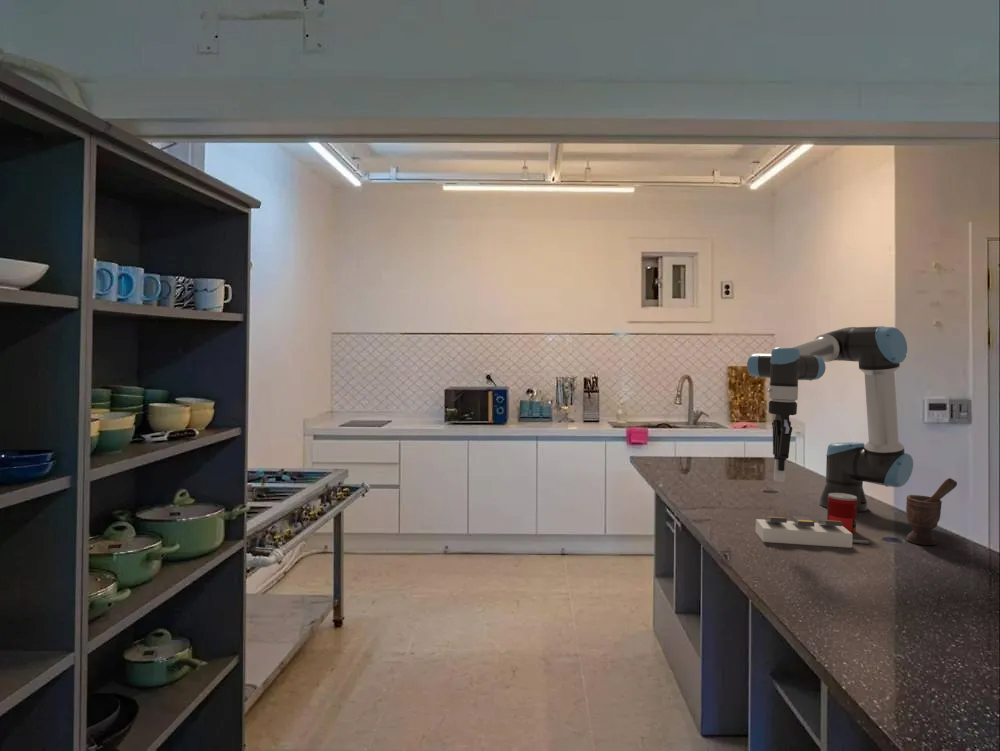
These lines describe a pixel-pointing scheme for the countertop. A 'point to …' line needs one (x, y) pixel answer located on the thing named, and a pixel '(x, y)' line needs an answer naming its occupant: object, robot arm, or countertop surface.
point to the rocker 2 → (830, 522)
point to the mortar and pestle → (926, 513)
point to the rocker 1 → (776, 519)
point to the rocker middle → (802, 521)
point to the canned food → (843, 510)
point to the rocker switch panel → (805, 534)
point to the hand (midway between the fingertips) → (779, 481)
